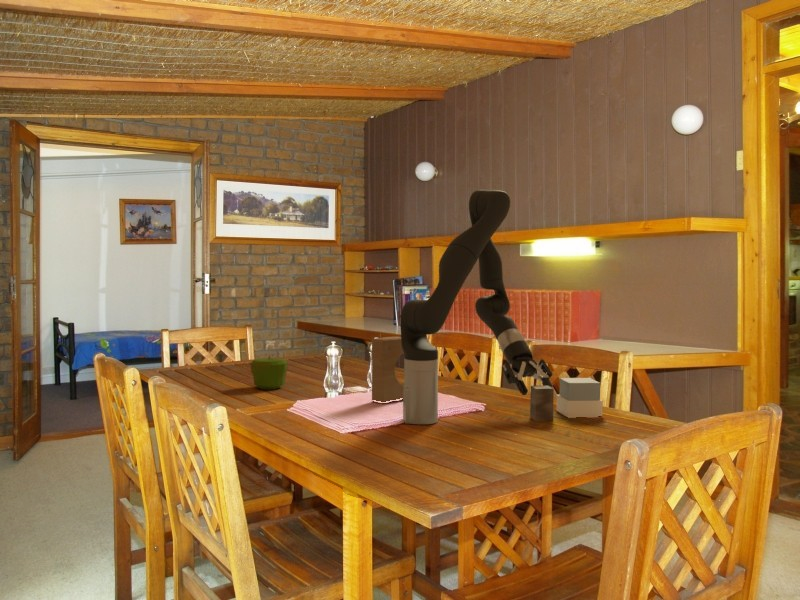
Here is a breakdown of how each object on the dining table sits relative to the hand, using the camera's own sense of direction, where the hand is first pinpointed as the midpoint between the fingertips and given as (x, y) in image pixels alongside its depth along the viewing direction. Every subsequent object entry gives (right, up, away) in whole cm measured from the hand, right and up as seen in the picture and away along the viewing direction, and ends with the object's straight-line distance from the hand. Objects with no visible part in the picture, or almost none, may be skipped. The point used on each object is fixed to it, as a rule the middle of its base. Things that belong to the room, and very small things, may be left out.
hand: (538, 392), depth 190 cm
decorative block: (-42, -6, +24) cm, 49 cm away
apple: (-85, -5, +47) cm, 97 cm away
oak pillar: (+1, -7, -1) cm, 7 cm away
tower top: (+13, -2, +6) cm, 14 cm away
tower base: (+13, -7, +6) cm, 16 cm away
